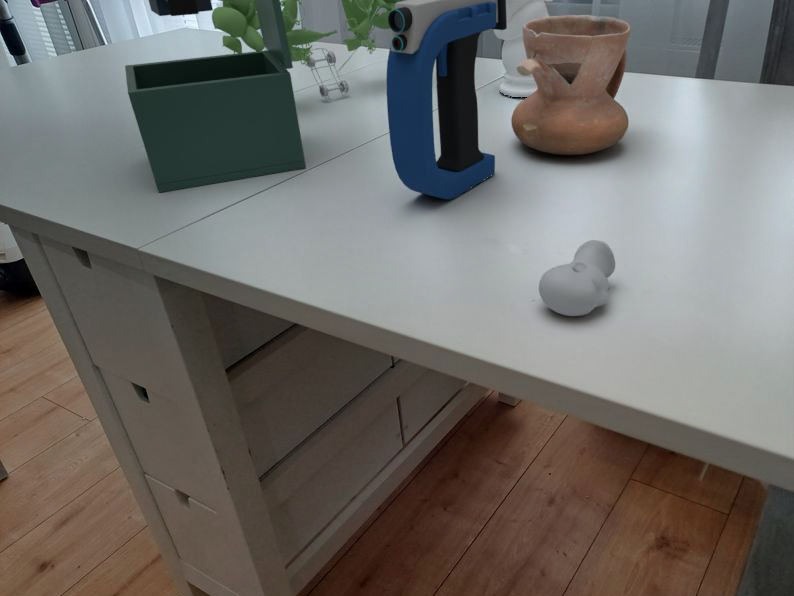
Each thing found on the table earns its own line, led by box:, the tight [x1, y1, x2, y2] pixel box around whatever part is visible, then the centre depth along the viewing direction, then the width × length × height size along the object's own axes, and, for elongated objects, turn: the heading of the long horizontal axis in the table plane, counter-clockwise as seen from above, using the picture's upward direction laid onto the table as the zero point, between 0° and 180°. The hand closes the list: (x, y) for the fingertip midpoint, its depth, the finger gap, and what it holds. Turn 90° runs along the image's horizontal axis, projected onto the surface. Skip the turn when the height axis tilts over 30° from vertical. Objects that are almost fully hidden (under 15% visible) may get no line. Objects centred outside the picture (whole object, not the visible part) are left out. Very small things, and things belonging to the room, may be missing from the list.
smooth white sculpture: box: [538, 239, 616, 317], centre depth 53 cm, size 4×8×5 cm
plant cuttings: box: [211, 0, 406, 101], centre depth 103 cm, size 35×17×22 cm
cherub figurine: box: [493, 0, 554, 98], centre depth 98 cm, size 12×12×22 cm
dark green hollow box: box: [124, 49, 307, 193], centre depth 79 cm, size 17×13×11 cm
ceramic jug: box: [510, 14, 631, 156], centre depth 81 cm, size 18×14×14 cm
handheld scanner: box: [386, 0, 507, 200], centre depth 68 cm, size 5×16×20 cm, turn 146°
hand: (181, 8), depth 72 cm, fingers closed on watch, 8 cm apart
